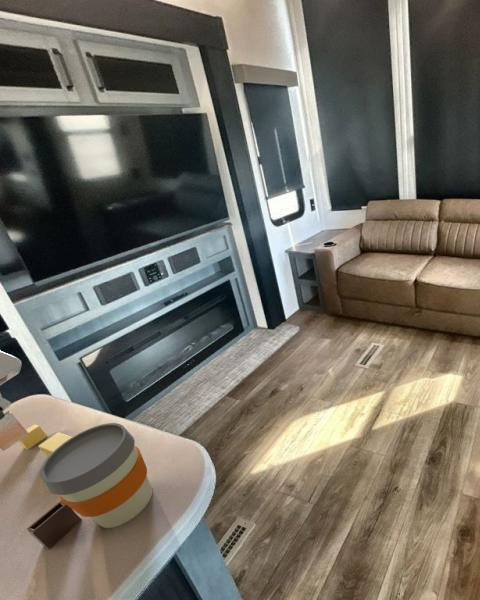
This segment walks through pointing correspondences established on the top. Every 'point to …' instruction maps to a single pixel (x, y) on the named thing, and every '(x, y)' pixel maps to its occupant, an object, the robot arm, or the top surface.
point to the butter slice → (32, 436)
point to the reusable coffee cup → (100, 475)
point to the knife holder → (54, 524)
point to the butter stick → (53, 443)
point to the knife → (10, 430)
